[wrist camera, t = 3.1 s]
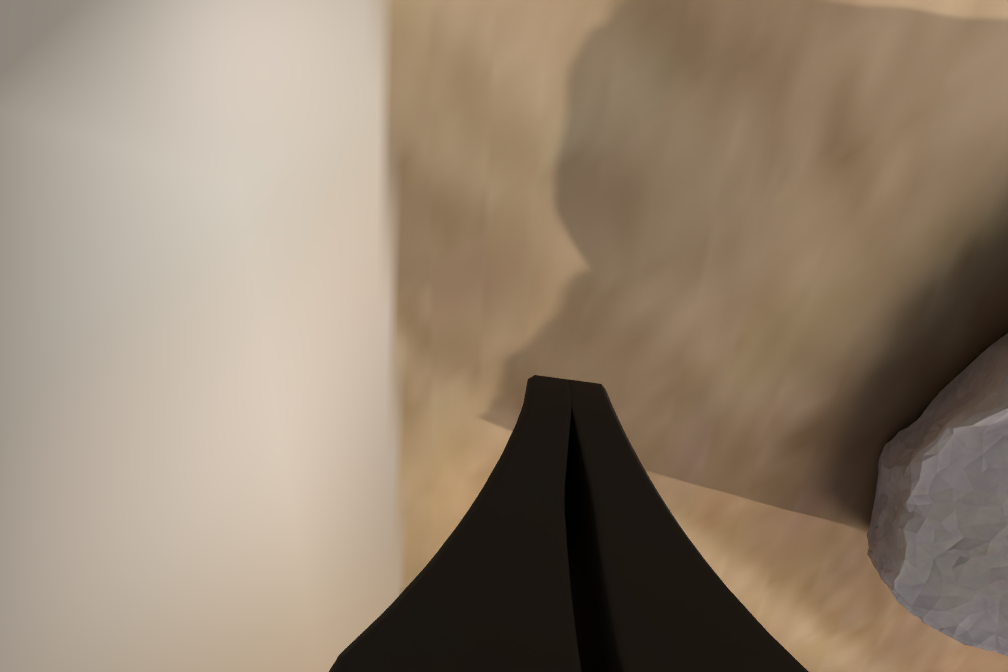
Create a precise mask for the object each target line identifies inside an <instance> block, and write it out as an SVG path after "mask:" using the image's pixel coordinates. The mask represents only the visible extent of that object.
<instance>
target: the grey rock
mask: <svg viewBox="0 0 1008 672" xmlns="http://www.w3.org/2000/svg"><path fill="white" fill-rule="evenodd" d="M878 470H879V475H878V481H877V487H876V495H875V501H874V506H873V511H872V517H871V522H870V526H869V530H868V533H867V537H868V543H869V549H868V555H869V557H870V559H871V561H872V563H873V565H874V567H875V568H876V570H877V571H878V572H879V575H880V577H881V579H882V580H883V581H884V583H885V584H886V585H887V586H888V587H889V588H890V589H891V591H892V593H893V595H894V596H895V598H896V600H897V601H898V602H899V603H900V604H902V605H903V606H904V607H905V608H906V609H907V610H908V611H909V612H911V613H912V614H913V615H915V616H917V617H919V618H920V619H921V620H922V622H924V623H926V624H928V625H929V626H931V627H933V628H935V629H936V630H938V631H940V632H942V633H944V634H946V635H948V636H949V637H951V638H953V639H955V640H957V641H959V642H961V643H963V644H964V645H969V646H975V647H978V648H981V649H984V650H989V651H994V652H998V653H1000V654H1003V655H1006V656H1008V333H1007V334H1006V335H1004V336H1003V337H1002V338H1000V339H999V340H997V341H996V342H995V343H993V344H992V345H990V346H989V347H988V348H987V349H986V350H985V351H984V352H983V353H981V354H980V355H979V356H978V357H977V358H976V359H975V360H974V361H973V362H972V363H971V364H969V365H968V366H967V367H966V368H965V369H964V370H963V371H962V372H961V373H960V374H959V375H957V376H956V377H955V378H954V379H953V380H952V381H951V382H950V383H949V384H948V385H946V386H945V387H944V388H943V389H942V390H941V391H940V392H939V393H938V395H937V396H936V397H935V398H934V399H933V401H932V402H931V403H930V404H929V405H928V407H927V408H926V409H925V411H924V412H923V414H922V415H921V416H920V417H919V419H918V420H916V421H915V422H914V423H913V424H911V425H910V426H909V427H908V428H905V429H903V430H900V431H899V432H898V433H897V435H896V436H895V437H894V438H893V439H892V440H891V441H889V442H888V443H887V444H885V446H884V448H883V451H882V453H881V455H880V458H879V463H878Z"/></svg>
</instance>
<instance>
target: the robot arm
mask: <svg viewBox="0 0 1008 672" xmlns="http://www.w3.org/2000/svg"><path fill="white" fill-rule="evenodd" d="M329 672H808V671H807V670H806V669H805V668H804V667H803V666H802V665H801V664H800V663H799V662H798V661H797V660H796V659H795V658H794V657H793V656H792V655H791V654H790V653H789V652H788V651H787V650H786V649H785V648H784V647H783V646H782V645H781V644H780V643H779V642H778V641H777V640H775V639H774V638H773V637H772V636H771V635H770V634H769V633H768V632H767V630H766V629H765V628H764V627H763V626H762V625H761V624H760V623H759V622H758V621H757V620H756V619H755V617H754V616H753V615H752V614H751V613H750V612H749V611H748V610H747V609H746V607H745V606H744V605H743V604H742V603H741V602H740V601H739V600H738V599H737V598H736V596H735V595H734V594H733V593H732V592H731V591H730V590H729V589H728V588H727V587H726V585H725V584H724V583H723V582H722V580H721V579H720V578H719V577H718V576H717V574H716V573H715V572H714V571H713V569H712V568H711V567H710V566H709V564H708V563H707V562H706V561H705V559H704V558H703V557H702V555H701V554H700V553H699V551H698V550H697V549H696V547H695V546H694V545H693V543H692V542H691V541H690V539H689V538H688V537H687V535H686V534H685V532H684V531H683V530H682V528H681V527H680V525H679V524H678V522H677V521H676V519H675V518H674V516H673V515H672V513H671V512H670V510H669V509H668V507H667V506H666V504H665V503H664V501H663V499H662V498H661V496H660V495H659V493H658V492H657V490H656V488H655V487H654V485H653V483H652V482H651V480H650V478H649V476H648V475H647V473H646V471H645V469H644V467H643V466H642V464H641V462H640V460H639V459H638V457H637V455H636V453H635V451H634V449H633V448H632V446H631V444H630V442H629V440H628V438H627V436H626V434H625V432H624V430H623V428H622V426H621V424H620V422H619V419H618V417H617V415H616V413H615V411H614V408H613V406H612V404H611V401H610V399H609V397H608V394H607V392H606V390H605V388H604V387H603V386H602V384H597V383H590V382H582V381H575V380H567V379H560V378H552V377H545V376H537V375H534V376H533V377H531V378H529V379H528V381H527V387H526V393H525V398H524V404H523V407H522V410H521V412H520V415H519V418H518V420H517V423H516V425H515V428H514V430H513V432H512V434H511V436H510V438H509V441H508V443H507V445H506V447H505V449H504V451H503V453H502V455H501V457H500V459H499V461H498V462H497V464H496V466H495V468H494V469H493V471H492V473H491V475H490V476H489V478H488V480H487V482H486V484H485V485H484V487H483V489H482V490H481V492H480V493H479V495H478V496H477V498H476V500H475V501H474V503H473V504H472V506H471V507H470V509H469V510H468V512H467V513H466V514H465V516H464V517H463V519H462V520H461V522H460V523H459V524H458V526H457V527H456V529H455V530H454V531H453V532H452V534H451V535H450V536H449V538H448V539H447V540H446V542H445V543H444V544H443V545H442V547H441V548H440V549H439V551H438V552H437V553H436V554H435V556H434V557H433V558H432V559H431V561H430V562H429V563H428V564H427V565H426V567H425V568H424V569H423V570H422V571H421V572H420V573H419V574H418V576H417V577H416V578H415V579H414V580H413V581H412V582H411V583H410V584H409V586H408V587H407V588H406V589H405V590H404V591H403V592H402V593H401V594H400V595H399V597H398V598H397V599H396V600H395V601H394V602H393V603H392V604H391V605H390V606H389V608H387V609H386V610H385V611H384V613H383V614H382V615H381V616H379V617H378V618H377V619H376V620H375V621H374V622H373V623H372V624H371V625H370V626H369V627H368V628H367V629H366V630H365V631H364V632H363V633H362V634H361V635H360V636H358V637H357V638H356V640H355V641H353V642H352V643H351V644H350V645H349V646H348V647H347V648H346V649H345V650H344V651H343V652H342V653H341V654H340V655H339V656H338V658H337V660H336V662H335V663H334V664H333V666H332V667H331V669H330V671H329Z"/></svg>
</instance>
